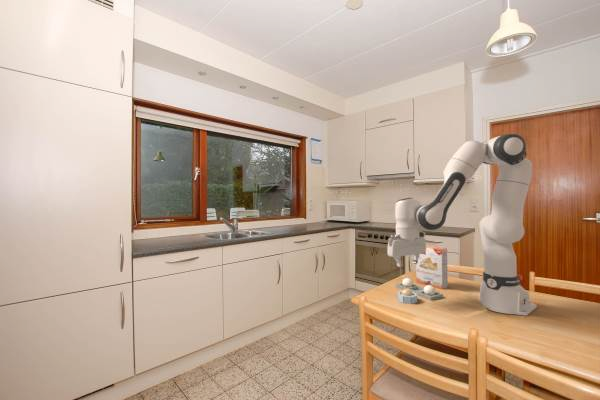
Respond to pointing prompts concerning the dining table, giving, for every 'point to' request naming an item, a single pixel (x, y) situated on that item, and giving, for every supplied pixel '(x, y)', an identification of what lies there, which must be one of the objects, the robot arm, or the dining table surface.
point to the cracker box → (432, 267)
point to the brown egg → (407, 292)
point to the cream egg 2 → (429, 290)
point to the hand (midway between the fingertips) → (407, 264)
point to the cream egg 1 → (407, 282)
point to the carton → (420, 291)
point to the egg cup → (407, 298)
